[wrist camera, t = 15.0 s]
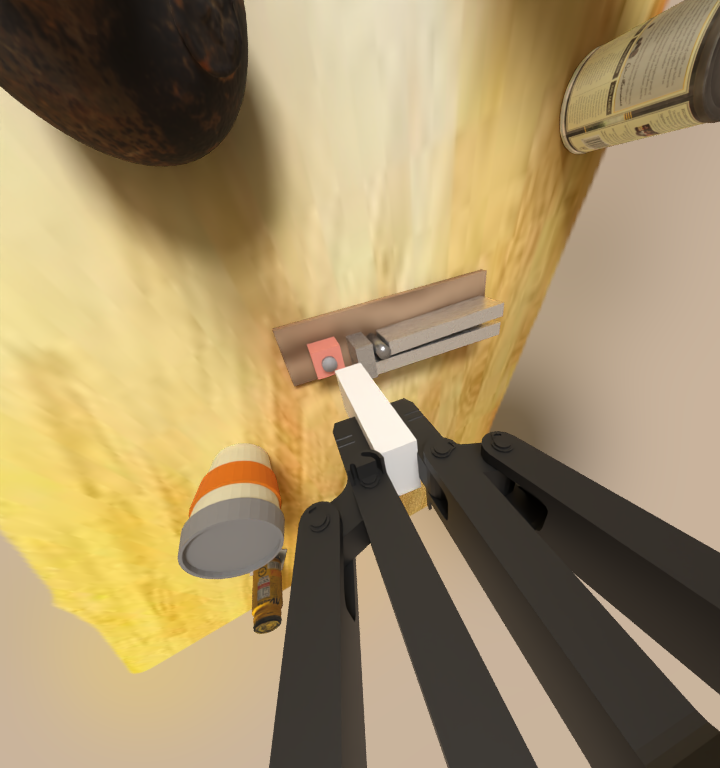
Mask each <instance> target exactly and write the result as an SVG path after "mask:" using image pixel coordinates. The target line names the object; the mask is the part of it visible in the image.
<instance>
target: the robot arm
mask: <svg viewBox="0 0 720 768" xmlns="http://www.w3.org/2000/svg"><path fill="white" fill-rule="evenodd" d="M335 374H336V377H337V381H338V385H339V388H340V392H341V395H342V399H343V403H344V406H345V410H346V412H347V414H348V416H349V419H346V420H343V421H340V422H338V423H335V424H334V429H333V434H334V437H335V440H336V443H337V446H338V449H339V452H340V455H341V458H342V461H343V464H344V467H345V470H346V473H347V476H348V480H347V485H346V487H345V489H344V490H343V492H342V493H341V494H340V495H339V496H338V497H337V498H335V499H334V500H333V501H332V502H330V503H329V502H318V503H315V504H312V505H311V506H310V507H309V508H307V509H306V510H305V512H304V513H303V515H302V516H301V519H300V522H299V527H298V535H297V543H296V552H295V560H294V568H293V576H292V584H291V593H290V601H289V609H288V617H287V625H286V634H285V642H284V650H283V658H282V666H281V675H280V683H279V691H278V699H277V707H276V715H275V724H274V732H273V740H272V749H271V756H270V765H269V768H367V761H366V742H365V724H364V705H363V687H362V668H361V650H360V631H359V616H358V615H359V613H358V594H357V578H356V577H357V576H356V559H355V558H356V556H357V555H358V554H359V553H360V552H361V551H363V550H364V549H365V548H366V547H367V546H368V545H369V544H370V543H371V546H372V549H373V552H374V555H375V557H376V561H377V563H378V566H379V569H380V572H381V575H382V578H383V581H384V584H385V586H386V589H387V592H388V595H389V598H390V601H391V604H392V607H393V610H394V613H395V616H396V619H397V621H398V624H399V627H400V630H401V633H402V636H403V639H404V642H405V645H406V647H407V651H408V653H409V656H410V659H411V662H412V665H413V668H414V671H415V674H416V677H417V680H418V682H419V685H420V688H421V691H422V694H423V697H424V700H425V703H426V706H427V709H428V711H429V714H430V717H431V720H432V723H433V726H434V729H435V732H436V735H437V737H438V740H439V743H440V746H441V749H442V752H443V755H444V758H445V760H446V764H447V767H448V768H538V767H537V765H536V763H535V761H534V759H533V757H532V755H531V753H530V752H529V749H528V748H527V746H526V744H525V742H524V740H523V738H522V736H521V734H520V732H519V730H518V728H517V726H516V724H515V722H514V720H513V718H512V716H511V714H510V712H509V710H508V709H507V707H506V705H505V703H504V701H503V699H502V697H501V695H500V693H499V691H498V689H497V687H496V686H495V683H494V681H493V679H492V677H491V675H490V673H489V671H488V670H487V667H486V666H485V664H484V662H483V660H482V658H481V656H480V654H479V652H478V650H477V648H476V646H475V644H474V642H473V640H472V638H471V636H470V634H469V632H468V630H467V628H466V626H465V625H464V623H463V621H462V619H461V617H460V615H459V613H458V611H457V609H456V607H455V605H454V603H453V601H452V599H451V597H450V595H449V594H448V592H447V589H446V587H445V585H444V584H443V582H442V580H441V578H440V576H439V574H438V572H437V570H436V568H435V566H434V564H433V562H432V560H431V558H430V556H429V554H428V553H427V550H426V548H425V546H424V545H423V543H422V541H421V539H420V537H419V535H418V533H417V531H416V529H415V527H414V525H413V523H412V521H411V519H410V517H409V515H408V513H407V511H406V509H405V507H404V505H403V503H402V501H401V500H400V498H399V496H400V495H403V494H405V493H408V492H410V491H412V490H415V489H417V488H420V487H421V482H420V479H421V481H422V482H423V484H424V486H425V487H426V494H427V505H428V508H429V510H430V509H432V507H431V504H432V506H433V507H434V509H435V511H436V512H437V514H438V515H439V517H440V519H441V520H442V522H443V524H444V525H445V527H446V529H447V530H448V532H449V534H450V535H451V537H452V539H453V540H454V542H455V543H456V545H457V547H458V548H459V550H460V552H461V553H462V555H463V557H464V558H465V560H466V561H467V563H468V565H469V567H470V568H471V570H472V571H473V573H474V575H475V576H476V578H477V580H478V581H479V583H480V585H481V586H482V588H483V590H484V591H485V593H486V594H487V596H488V598H489V599H490V601H491V603H492V604H493V606H494V608H495V609H496V611H497V612H498V614H499V616H500V617H501V619H502V621H503V622H504V624H505V626H506V627H507V629H508V630H509V632H510V634H511V635H512V637H513V639H514V640H515V642H516V644H517V645H518V647H519V648H520V650H521V652H522V654H523V655H524V657H525V659H526V660H527V662H528V663H529V665H530V667H531V668H532V670H533V672H534V673H535V675H536V676H537V678H538V680H539V682H540V683H541V685H542V686H543V688H544V690H545V691H546V693H547V695H548V696H549V698H550V699H551V701H552V703H553V705H554V706H555V708H556V709H557V711H558V713H559V714H560V716H561V718H562V719H563V721H564V723H565V724H566V726H567V727H568V729H569V731H570V732H571V734H572V736H573V737H574V739H575V741H576V742H577V744H578V746H579V747H580V749H581V751H582V752H583V754H584V755H585V757H586V759H587V760H588V762H589V764H590V766H591V767H592V768H720V731H718V730H717V729H716V728H715V727H714V726H712V725H711V724H710V723H709V722H708V721H707V720H706V719H705V718H704V717H703V716H702V715H701V714H700V713H699V712H698V711H697V710H696V709H695V708H694V707H693V706H692V705H691V704H690V702H689V701H688V700H687V699H686V698H685V697H684V696H683V695H682V694H681V692H680V691H679V690H678V689H677V688H676V687H675V686H674V685H673V684H672V682H671V681H670V680H669V679H668V678H667V677H666V676H665V675H664V673H662V671H661V670H660V669H659V668H658V667H657V666H656V665H655V663H654V662H653V661H652V660H651V659H650V658H649V657H648V656H647V655H646V653H645V652H644V651H643V650H642V649H641V648H640V647H639V646H638V645H637V643H636V642H635V641H634V640H633V639H632V638H631V637H630V636H629V635H628V634H627V632H626V631H625V630H624V629H623V628H622V627H621V626H620V625H619V624H618V622H617V621H616V620H615V619H614V618H613V617H612V616H611V615H610V614H609V612H608V611H607V610H606V609H605V608H604V607H603V606H602V605H601V603H600V602H599V601H598V600H597V599H596V598H595V597H594V596H593V595H592V593H591V592H590V591H589V590H588V589H587V588H586V587H585V586H584V585H583V583H582V582H581V581H580V580H579V579H578V578H577V577H576V576H575V574H576V575H577V576H578V577H579V578H580V579H582V580H583V581H584V582H585V583H586V584H587V585H589V586H590V587H591V588H592V589H594V590H595V591H596V592H597V593H598V594H600V595H601V596H602V597H603V598H604V599H606V600H607V601H608V602H609V603H610V604H611V605H613V606H614V607H615V608H616V609H618V610H619V611H620V612H621V613H622V614H624V615H625V616H626V617H627V618H629V619H630V620H631V621H632V622H634V624H636V625H637V626H638V627H639V628H640V629H642V630H643V631H644V632H645V633H647V634H648V635H649V636H650V637H651V638H652V639H654V640H655V641H656V642H657V643H658V644H660V645H661V646H662V647H663V648H664V649H666V650H667V651H668V652H669V653H670V654H672V655H673V656H674V657H675V658H677V659H678V660H679V661H680V662H681V663H682V664H684V665H685V666H686V667H687V668H688V669H690V670H691V671H692V672H693V673H694V674H696V675H697V676H698V677H699V678H700V679H702V680H703V681H704V682H705V683H707V684H708V685H709V686H710V687H711V688H712V689H714V690H715V691H716V692H717V693H719V694H720V553H719V552H717V551H716V550H714V549H712V548H710V547H709V546H707V545H705V544H703V543H702V542H700V541H698V540H696V539H695V538H693V537H691V536H689V535H687V534H686V533H684V532H682V531H681V530H679V529H677V528H675V527H674V526H672V525H670V524H668V523H666V522H665V521H663V520H661V519H659V518H658V517H656V516H654V515H652V514H651V513H649V512H647V511H645V510H644V509H642V508H640V507H638V506H636V505H635V504H633V503H631V502H630V501H628V500H626V499H624V498H623V497H620V496H619V495H617V494H615V493H614V492H612V491H610V490H608V489H607V488H605V487H603V486H601V485H600V484H598V483H596V482H594V481H592V480H591V479H589V478H587V477H586V476H584V475H582V474H580V473H579V472H577V471H575V470H573V469H571V468H569V467H568V466H566V465H564V464H562V463H561V462H559V461H557V460H555V459H554V458H552V457H550V456H548V455H547V454H545V453H543V452H542V451H540V450H538V449H536V448H535V447H533V446H531V445H529V444H527V443H526V442H524V441H522V440H520V439H519V438H517V437H515V436H513V435H511V434H508V433H506V432H499V431H497V432H490V433H488V434H486V435H485V436H484V437H483V438H482V443H474V444H456V443H455V442H454V441H453V440H450V439H447V438H443V437H442V436H441V435H440V433H439V432H438V431H437V430H436V429H435V428H434V427H433V425H432V424H431V423H430V422H429V421H428V420H427V418H426V417H425V416H423V414H422V413H421V411H419V409H418V408H417V407H416V406H415V405H414V403H413V402H410V401H408V400H406V399H404V398H403V399H401V400H398V401H395V402H392V403H389V401H388V400H387V399H386V397H385V396H384V394H383V393H382V392H381V390H380V389H379V388H378V386H377V385H376V383H375V382H374V381H373V379H372V378H371V377H370V375H369V374H368V372H367V371H366V370H365V368H364V367H363V366H362V364H361V363H358V364H354V365H351V366H348V367H345V368H342V369H339V370H336V371H335Z"/></svg>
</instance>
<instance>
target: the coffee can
mask: <svg viewBox="0 0 720 768" xmlns="http://www.w3.org/2000/svg"><path fill="white" fill-rule="evenodd" d="M715 122H720V0H684V1H682V2H681V3H679V4H677V5H675V6H673V7H671V8H670V9H668V10H666V11H664V12H662V13H660V14H659V15H657V16H655V17H653V18H652V19H650V20H648V21H646V22H644V23H642V24H641V25H639V26H637V27H635V28H633V29H632V30H630V31H628V32H626V33H624V34H623V35H621V36H619V37H617V38H615V39H614V40H612V41H610V42H608V43H606V44H604V45H601V46H599V47H597V48H596V49H594V50H593V51H591V52H590V53H589V54H588V55H587V56H586V57H585V58H584V59H583V61H582V62H581V63H580V64H579V66H578V67H577V69H576V70H575V72H574V74H573V76H572V78H571V80H570V82H569V84H568V86H567V89H566V92H565V95H564V99H563V103H562V107H561V113H560V134H561V138H562V141H563V144H564V146H565V147H566V148H567V149H568V150H569V151H570V152H572V153H574V154H584V153H587V152H590V151H593V150H597V149H601V148H606V147H610V146H614V145H618V144H622V143H626V142H630V141H634V140H638V139H642V138H646V137H651V136H654V135H659V134H662V133H667V132H671V131H675V130H680V129H683V128H688V127H691V126H696V125H699V124H704V123H715Z"/></svg>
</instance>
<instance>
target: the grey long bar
mask: <svg viewBox="0 0 720 768" xmlns="http://www.w3.org/2000/svg"><path fill="white" fill-rule="evenodd" d="M499 330H500V322H499V321H496V320H494V319H493V320H490V321H487V322H484V323H481V324H478V325H476V326H473V327H470V328H467V329H464V330H461V331H458V332H456V333H453V334H450V335H447V336H444V337H441V338H439V339H436V340H433V341H430V342H427V343H424V344H421V345H419V346H416V347H413V348H410V349H407V350H404V351H402V352H399V353H396V354H393V355H390V357H389V358H387V359H381V358H380V357H379V356H378V355H377V354H376V353H375V352H374V350H373V344H372V343H371V342H370V341H369V340H368V339H367V338H366V337H365V336H364V334H363V333H362V332H359V333H355V334H352V335H349V336H346V340H347V345H348V349H349V353H350V358H351V362H352V365H354V364H358V363H361V364H362V366H363V367H364V368H365V370H366V371H367V372H368V374H369V375H370V377H371V378H372V379H373V378H376V377H378V374H381V373H384V372H387V371H390V370H393V369H396V368H399V367H402V366H405V365H408V364H411V363H414V362H417V361H420V360H423V359H426V358H429V357H432V356H435V355H439V354H442V353H445V352H448V351H451V350H454V349H457V348H460V347H463V346H466V345H469V344H472V343H475V342H478V341H481V340H484V339H487V338H490V337H493V336H496V335H499Z"/></svg>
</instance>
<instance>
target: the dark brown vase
mask: <svg viewBox="0 0 720 768" xmlns="http://www.w3.org/2000/svg"><path fill="white" fill-rule="evenodd" d="M247 67H248V37H247V22H246V12H245V6H244V0H0V86H1V87H2V88H3V89H4V90H5V91H7V92H8V93H9V94H10V95H11V96H12V97H14V98H15V99H16V100H17V101H19V102H20V103H21V104H23V105H24V106H25V107H26V108H28V109H29V110H31V111H32V112H34V113H35V114H36V115H37V116H39V117H40V118H42V119H43V120H45V121H46V122H48V123H49V124H51V125H52V126H54V127H55V128H57V129H59V130H60V131H62V132H63V133H65V134H67V135H69V136H71V137H72V138H74V139H76V140H77V141H79V142H81V143H83V144H85V145H88V146H90V147H92V148H94V149H96V150H98V151H101V152H103V153H105V154H108V155H111V156H113V157H116V158H119V159H122V160H126V161H129V162H133V163H137V164H143V165H150V166H175V165H181V164H186V163H189V162H192V161H195V160H197V159H199V158H202V157H203V156H205V155H207V154H208V153H210V152H211V151H212V150H213V149H215V148H216V147H217V146H218V145H219V144H220V143H221V141H222V140H223V139H224V138H225V137H226V135H227V134H228V132H229V131H230V129H231V128H232V126H233V124H234V122H235V120H236V117H237V115H238V112H239V110H240V106H241V103H242V100H243V96H244V91H245V84H246V76H247Z"/></svg>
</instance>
